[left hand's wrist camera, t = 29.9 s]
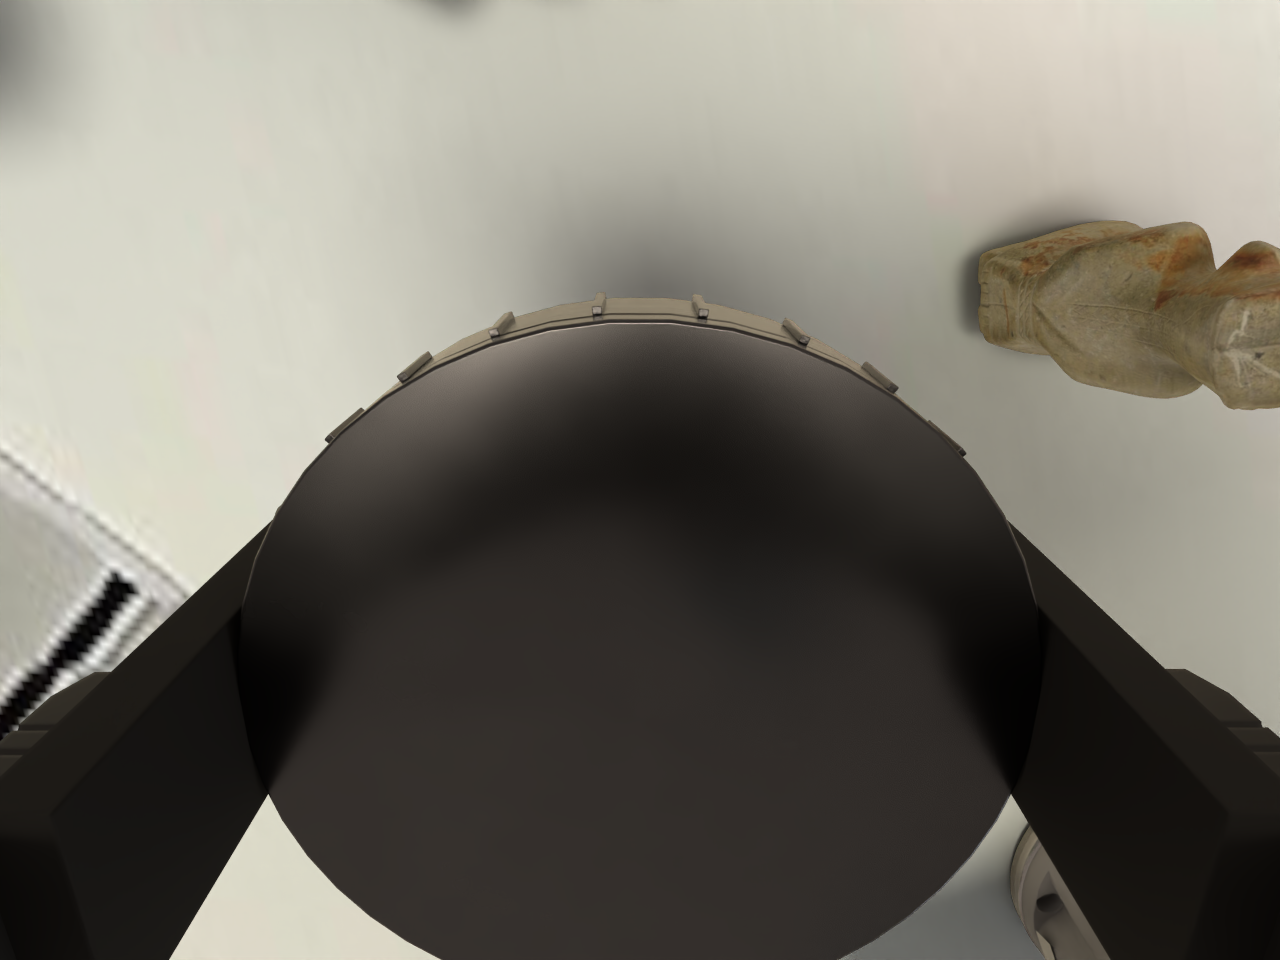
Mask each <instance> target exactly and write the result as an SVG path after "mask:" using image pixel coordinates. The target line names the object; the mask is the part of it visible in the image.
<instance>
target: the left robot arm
mask: <svg viewBox="0 0 1280 960" xmlns="http://www.w3.org/2000/svg"><path fill="white" fill-rule="evenodd" d="M272 521H273V520H272ZM272 521H271V522H270V523H269V524H268V525H267V526H266V527H264V528H263V529H262V530H261V531H260V532H259V533H258V534H257V535H256V536H255V537H254V538H253V539H252V540H251V541H250V542H249V543H247V544H246V545H245V546H244V547H243V548H242V549H241V550H240V551H239V552H238V553H237V554H236V555H235V556H234V557H233V558H232V559H231V560H229V561H228V562H227V563H226V564H225V565H224V566H223V567H222V568H221V569H220V570H219V571H218V572H217V573H216V574H215V575H214V576H212V577H211V578H210V579H209V580H208V581H207V582H206V583H205V584H204V585H203V586H202V587H201V588H200V589H199V590H198V591H197V592H195V593H194V594H193V595H192V596H191V597H190V598H189V599H188V600H187V601H186V602H185V603H184V604H183V605H182V606H181V607H180V608H179V609H177V610H176V611H175V612H174V613H173V614H172V615H171V616H170V617H169V618H168V619H167V620H166V621H165V622H164V623H163V624H162V625H160V626H159V627H158V628H157V629H156V630H155V631H154V632H153V633H152V634H151V635H150V636H149V637H148V638H147V639H146V640H145V641H143V642H142V643H141V644H140V645H139V646H138V647H137V648H136V649H135V650H134V651H133V652H132V653H131V654H130V655H129V656H128V657H127V658H125V659H124V660H123V661H122V662H121V663H120V664H119V665H118V666H117V667H116V668H115V669H114V670H113V671H112V672H94V673H92V674H90V675H89V676H87V677H85V678H83V679H81V680H80V681H78V682H76V683H74V684H72V685H71V686H69V687H67V688H65V689H63V690H62V691H60V692H58V693H56V694H54V695H53V696H51V697H50V698H49V699H47V700H46V701H45V702H44V703H43V704H42V705H41V706H40V707H38V708H37V709H36V710H35V711H34V712H33V713H32V714H31V715H29V716H28V717H27V718H26V719H25V720H24V721H23V722H22V723H20V724H19V728H18V731H11V732H10V733H9V734H8V735H7V736H6V737H5V738H3V739H2V740H1V741H0V960H169V959H170V957H171V956H172V954H173V952H174V951H175V949H176V947H177V946H178V944H179V942H180V940H181V939H182V937H183V935H184V934H185V932H186V930H187V929H188V927H189V925H190V924H191V922H192V920H193V919H194V917H195V915H196V914H197V912H198V910H199V909H200V907H201V905H202V904H203V902H204V900H205V899H206V897H207V895H208V894H209V892H210V890H211V889H212V887H213V885H214V884H215V882H216V880H217V879H218V877H219V875H220V874H221V872H222V870H223V869H224V867H225V865H226V864H227V862H228V860H229V859H230V857H231V855H232V854H233V852H234V850H235V849H236V847H237V845H238V844H239V842H240V840H241V839H242V837H243V835H244V834H245V832H246V830H247V829H248V827H249V825H250V824H251V822H252V820H253V819H254V817H255V815H256V814H257V812H258V810H259V809H260V807H261V805H262V804H263V802H264V800H265V799H266V797H267V795H268V792H267V790H266V788H265V786H264V784H263V783H262V780H261V777H260V775H259V772H258V769H257V766H256V763H255V761H254V758H253V755H252V752H251V749H250V746H249V741H248V737H247V732H246V727H245V721H244V716H243V711H242V706H241V701H240V696H239V690H238V668H237V645H238V636H239V628H240V619H241V610H242V603H243V600H244V596H245V592H246V589H247V585H248V582H249V578H250V575H251V571H252V567H253V564H254V560H255V557H256V555H257V553H258V551H259V549H260V547H261V544H262V542H263V540H264V538H265V536H266V534H267V531H268V529H269V527H270V525H271V523H272ZM1007 522H1008V523H1009V525H1010V528H1011V531H1012V533H1013V535H1014V537H1015V539H1016V541H1017V544H1018V546H1019V548H1020V550H1021V552H1022V555H1023V557H1024V559H1025V562H1026V566H1027V570H1028V573H1029V577H1030V580H1031V584H1032V588H1033V591H1034V595H1035V598H1036V602H1037V607H1038V616H1039V625H1040V633H1041V642H1042V651H1043V654H1042V676H1041V692H1040V698H1039V703H1038V708H1037V713H1036V718H1035V723H1034V728H1033V733H1032V738H1031V743H1030V747H1029V750H1028V753H1027V756H1026V759H1025V761H1024V764H1023V767H1022V770H1021V773H1020V775H1019V778H1018V781H1017V783H1016V785H1015V787H1014V789H1013V791H1012V793H1011V794H1012V796H1013V798H1014V799H1015V801H1016V803H1017V804H1018V806H1019V808H1020V809H1021V811H1022V813H1023V814H1024V816H1025V818H1026V819H1027V821H1028V823H1029V824H1030V826H1029V828H1028V829H1027V831H1026V832H1025V834H1024V836H1023V837H1022V839H1021V841H1020V843H1019V845H1018V847H1017V850H1016V853H1015V855H1014V859H1013V863H1012V867H1011V875H1010V889H1011V895H1012V900H1013V903H1014V906H1015V909H1016V911H1017V913H1018V915H1019V917H1020V919H1021V921H1022V923H1023V925H1024V927H1025V929H1026V931H1027V933H1028V935H1029V936H1030V938H1031V940H1032V941H1033V943H1034V944H1035V945H1036V947H1037V948H1038V949H1039V951H1040V952H1041V953H1042V955H1043V956H1044V957H1045V959H1046V960H1280V738H1279V737H1278V736H1277V735H1276V734H1275V733H1274V732H1272V731H1271V730H1270V729H1269V728H1263V727H1262V725H1261V721H1260V720H1259V719H1258V718H1257V717H1255V716H1254V715H1253V714H1252V713H1251V712H1250V711H1249V710H1248V709H1246V708H1245V707H1244V706H1243V705H1242V704H1241V703H1240V702H1238V701H1237V700H1236V699H1235V698H1234V697H1233V696H1232V695H1230V694H1229V693H1228V692H1226V691H1224V690H1222V689H1220V688H1219V687H1217V686H1215V685H1213V684H1211V683H1210V682H1208V681H1206V680H1204V679H1202V678H1200V677H1199V676H1197V675H1195V674H1193V673H1191V672H1190V671H1188V670H1186V669H1165V668H1163V667H1162V666H1161V665H1160V664H1159V663H1158V662H1157V661H1156V660H1155V659H1154V658H1153V657H1152V656H1151V655H1150V654H1149V653H1148V652H1147V651H1145V650H1144V649H1143V648H1142V647H1141V646H1140V645H1139V644H1138V643H1137V642H1136V641H1135V640H1134V639H1133V638H1132V637H1131V636H1130V635H1128V634H1127V633H1126V632H1125V631H1124V630H1123V629H1122V628H1121V627H1120V626H1119V625H1118V624H1117V623H1116V622H1115V621H1114V620H1113V619H1112V618H1110V617H1109V616H1108V615H1107V614H1106V613H1105V612H1104V611H1103V610H1102V609H1101V608H1100V607H1099V606H1098V605H1097V604H1096V603H1095V602H1093V601H1092V600H1091V599H1090V598H1089V597H1088V596H1087V595H1086V594H1085V593H1084V592H1083V591H1082V590H1081V589H1080V588H1079V587H1078V586H1077V585H1075V584H1074V583H1073V582H1072V581H1071V580H1070V579H1069V578H1068V577H1067V576H1066V575H1065V574H1064V573H1063V572H1062V571H1061V570H1060V569H1058V568H1057V567H1056V566H1055V565H1054V564H1053V563H1052V562H1051V561H1050V560H1049V559H1048V558H1047V557H1046V556H1045V555H1044V554H1043V553H1041V552H1040V551H1039V550H1038V549H1037V548H1036V547H1035V546H1034V545H1033V544H1032V543H1031V542H1030V541H1029V540H1028V539H1027V538H1026V537H1025V536H1023V535H1022V534H1021V533H1020V532H1019V531H1018V530H1017V529H1016V528H1015V527H1014V526H1013V525H1012V524H1011V523H1010V522H1009V521H1008V520H1007Z"/></svg>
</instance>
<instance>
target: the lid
mask: <svg viewBox="0 0 1280 960" xmlns="http://www.w3.org/2000/svg"><path fill="white" fill-rule="evenodd" d="M397 378H398V379H399V380H400V381H399V382H398V383H397V384H395V385H394V386H393V387H392V388H391V389H389V390H388V391H387V392H386V393H384V394H383V395H382V396H381V397H380V398H378V399H377V400H376V401H375V402H374V403H373V404H371V405H370V406H369V407H368V408H367V409H366V410H364V409H362V408H360V409H359V410H357V411H356V412H355V413H354V414H353V415H351V416H350V417H349V418H348V419H347V420H345V421H344V422H343V423H342V424H341V425H339V426H338V427H337V428H336V429H335V430H333V431H332V432H331V433H330V434H329V435H328V436H327V437H326V438H325V441H326V442H328V443H329V444H328V445H327V446H326V447H325V449H324V450H323V451H322V452H321V453H320V454H319V455H318V456H317V457H316V458H315V459H314V461H313V462H312V463H311V464H310V465H309V466H308V467H307V468H306V469H305V470H304V472H303V473H302V475H301V476H300V478H299V479H298V481H297V482H296V484H295V485H294V487H293V488H292V490H291V491H290V493H289V494H288V496H287V497H286V499H285V500H284V502H283V503H282V505H281V506H280V507H278V509H277V511H276V513H275V516H274V518H273V521H272V523H271V525H270V527H269V529H268V531H267V534H266V536H265V538H264V540H263V542H262V544H261V547H260V549H259V551H258V553H257V555H256V557H255V560H254V564H253V567H252V571H251V575H250V578H249V582H248V585H247V589H246V592H245V596H244V600H243V603H242V610H241V619H240V628H239V636H238V645H237V668H238V690H239V696H240V701H241V706H242V711H243V716H244V721H245V727H246V732H247V737H248V741H249V746H250V749H251V752H252V755H253V758H254V761H255V763H256V766H257V769H258V772H259V775H260V777H261V780H262V783H263V784H264V786H265V788H266V790H267V792H268V794H269V796H270V798H271V800H272V802H273V804H274V805H275V807H276V809H277V811H278V813H279V815H280V817H281V819H282V821H283V822H284V823H285V825H286V826H287V828H288V829H289V830H290V832H291V833H292V835H293V836H294V838H295V839H296V840H297V842H298V843H299V845H300V846H301V847H302V849H303V850H304V852H305V853H306V854H307V856H308V857H309V858H310V859H311V860H312V861H313V862H314V864H315V865H316V866H317V867H318V868H319V869H320V870H321V871H322V872H323V873H324V874H325V876H326V877H327V878H328V879H329V880H330V881H331V882H332V883H333V884H334V885H335V886H336V888H337V889H339V890H340V891H341V892H342V893H343V894H344V895H346V896H347V897H348V898H349V899H350V900H351V901H353V902H354V903H355V904H356V905H357V906H358V907H360V908H361V909H362V910H363V911H364V912H365V913H367V914H368V915H369V916H370V917H372V918H373V919H374V920H376V921H377V922H379V923H380V924H382V925H383V926H385V927H386V928H388V929H389V930H391V931H392V932H394V933H395V934H397V935H398V936H400V937H401V938H402V939H404V940H405V941H407V942H409V943H411V944H413V945H414V946H416V947H418V948H420V949H422V950H424V951H426V952H428V953H430V954H431V955H433V956H435V957H437V958H439V959H441V960H838V959H840V958H842V957H844V956H846V955H848V954H850V953H852V952H854V951H855V950H857V949H859V948H861V947H863V946H865V945H867V944H869V943H871V942H872V941H874V940H875V939H877V938H878V937H880V936H881V935H883V934H884V933H886V932H887V931H889V930H890V929H892V928H893V927H895V926H896V925H897V924H899V923H900V922H902V921H903V920H905V919H906V918H908V917H909V916H910V915H911V914H913V913H914V912H915V911H916V910H917V909H919V908H920V907H921V906H922V905H923V904H924V903H926V902H927V901H928V900H929V899H930V898H931V897H933V896H934V895H935V894H936V893H937V892H938V891H940V890H941V889H942V888H943V887H944V886H945V885H946V883H947V882H948V881H949V880H950V879H951V878H952V877H953V876H954V875H955V874H956V873H957V872H958V870H959V869H960V868H961V867H962V866H963V865H964V864H965V863H966V862H967V861H968V860H969V859H970V857H971V856H972V855H973V853H974V852H975V851H976V849H977V848H978V846H979V845H980V844H981V842H982V841H983V839H984V838H985V837H986V835H987V834H988V832H989V831H990V830H991V828H992V827H993V825H994V824H995V823H996V821H997V819H998V817H999V816H1000V814H1001V812H1002V810H1003V808H1004V806H1005V804H1006V802H1007V800H1008V798H1009V797H1010V795H1011V793H1012V791H1013V789H1014V787H1015V785H1016V783H1017V781H1018V778H1019V775H1020V773H1021V770H1022V767H1023V764H1024V761H1025V759H1026V756H1027V753H1028V750H1029V747H1030V743H1031V738H1032V733H1033V728H1034V723H1035V718H1036V713H1037V708H1038V703H1039V698H1040V692H1041V676H1042V654H1043V651H1042V642H1041V633H1040V625H1039V616H1038V607H1037V602H1036V598H1035V595H1034V591H1033V588H1032V584H1031V580H1030V577H1029V573H1028V570H1027V566H1026V562H1025V559H1024V557H1023V555H1022V552H1021V550H1020V548H1019V546H1018V544H1017V541H1016V539H1015V537H1014V535H1013V533H1012V531H1011V528H1010V525H1009V523H1008V522H1007V520H1006V517H1005V515H1004V513H1003V512H1002V510H1001V509H1000V507H999V506H998V504H997V503H996V501H995V500H994V498H993V497H992V495H991V494H990V492H989V491H988V489H987V488H986V486H985V485H984V483H983V482H982V480H981V479H980V477H979V476H978V474H977V473H976V471H975V470H974V469H973V468H972V467H971V466H970V465H969V464H968V462H967V461H966V460H965V459H964V458H963V456H965V455H966V452H965V451H964V450H963V448H962V447H960V446H959V445H958V444H957V443H956V442H955V441H953V440H952V439H951V438H950V437H949V436H948V435H946V434H945V433H944V432H943V431H942V430H940V429H939V428H938V427H937V426H936V425H935V424H933V423H932V422H931V421H930V420H929V421H926V420H925V419H924V418H923V417H922V416H921V415H920V414H918V413H917V412H916V411H915V410H914V409H913V408H911V407H910V406H909V405H908V404H907V403H906V402H904V401H903V400H902V399H901V398H900V397H899V396H897V395H896V394H895V392H896V391H897V389H898V387H897V386H896V385H895V384H894V383H893V382H891V381H890V380H889V379H888V378H886V377H885V376H884V375H883V374H882V373H880V372H879V371H878V370H877V369H876V368H874V367H873V366H872V365H871V364H869V363H868V362H865V363H864V364H863V365H862V366H861V365H859V364H858V363H856V362H854V361H853V360H851V359H849V358H848V357H846V356H844V355H843V354H841V353H839V352H838V351H836V350H834V349H833V348H831V347H829V346H828V345H826V344H824V343H823V342H821V341H819V340H818V339H816V338H813V337H811V336H809V335H807V334H806V333H805V332H804V331H803V330H802V329H801V328H800V327H799V326H798V325H796V324H795V323H794V322H793V321H792V320H790V319H787V318H785V319H784V321H783V324H781V323H778V322H776V321H774V320H771V319H768V318H765V317H761V316H757V315H754V314H750V313H747V312H743V311H739V310H736V309H732V308H728V307H725V306H721V305H715V304H708V303H705V301H704V300H703V298H702V296H701V295H696V294H693V298H692V301H686V300H678V299H671V298H609V299H606V293H605V292H600V293H597V294H596V297H595V300H594V301H586V302H579V303H571V304H563V305H559V306H555V307H551V308H547V309H544V310H540V311H536V312H533V313H529V314H525V315H522V316H518V317H514V316H513V313H512V312H508V313H505V314H504V315H503V316H502V317H501V318H500V319H499V320H498V321H497V322H496V323H495V324H494V325H493V326H492V327H489V328H487V329H485V330H482V331H480V332H478V333H475V334H473V335H471V336H468V337H466V338H464V339H462V340H460V341H458V342H457V343H455V344H453V345H452V346H450V347H448V348H447V349H445V350H443V351H442V352H440V353H438V354H437V355H435V356H433V357H432V355H431V354H430V353H429V352H426V353H425V354H423V355H422V356H420V357H419V358H418V359H417V360H416V361H414V362H413V363H412V364H411V365H410V366H408V367H407V368H406V369H405V370H404V371H402V372H401V373H400V374H399V375H398V376H397Z"/></svg>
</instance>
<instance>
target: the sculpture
mask: <svg viewBox="0 0 1280 960" xmlns="http://www.w3.org/2000/svg"><path fill="white" fill-rule="evenodd" d="M978 282H979V284H980V285H981V305H980V306H979V309H978V317H979V326H980V331H981V332H982V333H983V334H984V337H985V339H986V341H988V342H989V343H992V344H994V345H997V346H1001V347H1004V348H1008V349H1012V350H1016V351H1020V352H1025V353H1032V354H1039V355H1050V356H1051V357H1052V358H1053V359H1054V360H1055V361H1056V363H1057V364H1058V365H1059V366H1060V367H1061V368H1062V369H1063V371H1064V372H1065V373H1066V374H1067V375H1069V376H1070V377H1071V378H1072V379H1074V380H1075V381H1078V382H1081V383H1084V384H1087V385H1091V386H1096V387H1101V388H1106V389H1111V390H1115V391H1120V392H1124V393H1129V394H1134V395H1138V396H1144V397H1150V398H1175V397H1180V396H1183V395H1187V394H1189V393H1192V392H1193V391H1195V390H1197V389H1198V388H1199V387H1200V386H1201V385H1202V384H1204V385H1205V386H1207V387H1208V388H1210V389H1211V390H1212V391H1213V392H1215V393H1216V394H1217V395H1218V396H1219V397H1220V398H1221V400H1222V402H1223V403H1224V405H1225V406H1227V407H1228V408H1231V409H1238V408H1239V409H1243V410H1254V409H1271V408H1279V407H1280V249H1279V248H1277V247H1274V246H1272V245H1270V244H1268V243H1266V242H1262V241H1252V242H1249V243H1247V244H1245V245H1244V246H1243V247H1241V248H1240V249H1239V250H1238V251H1237V252H1236V253H1235V254H1234V255H1232V256H1231V257H1230V258H1229V259H1228V260H1227V261H1226V262H1225V263H1224V264H1223V265H1222V266H1221V267H1220V268H1219V269H1218V270H1216V268H1215V263H1214V258H1213V253H1212V248H1211V243H1210V241H1209V238H1208V236H1207V233H1206V232H1205V231H1204V229H1203V228H1201V227H1200V226H1199V225H1197V224H1194V223H1192V222H1179V223H1172V224H1167V225H1161V226H1156V227H1150V228H1146V229H1142V228H1141V227H1139V226H1137V225H1136V224H1133V223H1129V222H1126V221H1098V222H1092V223H1086V224H1080V225H1076V226H1073V227H1069V228H1065V229H1061V230H1058V231H1055V232H1052V233H1049V234H1046V235H1043V236H1040V237H1037V238H1034V239H1030V240H1027V241H1024V242H1020V243H1016V244H1012V245H1008V246H1005V247H1001V248H996V249H992V250H989V251H987V252H985V253H983V254H982V255H981V257H980V260H979V267H978Z"/></svg>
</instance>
